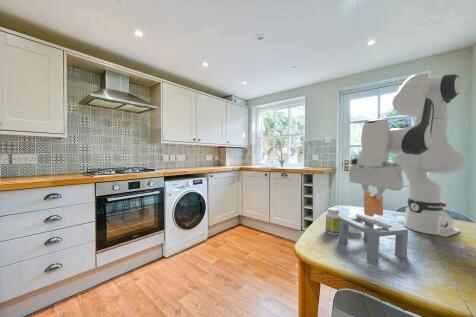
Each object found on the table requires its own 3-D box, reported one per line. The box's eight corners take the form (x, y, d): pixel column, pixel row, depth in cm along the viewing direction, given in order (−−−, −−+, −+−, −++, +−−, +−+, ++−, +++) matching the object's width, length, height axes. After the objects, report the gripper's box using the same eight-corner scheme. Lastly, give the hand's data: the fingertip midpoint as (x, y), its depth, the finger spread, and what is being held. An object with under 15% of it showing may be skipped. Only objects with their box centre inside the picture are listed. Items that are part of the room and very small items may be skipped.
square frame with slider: (368, 237, 87) (369, 211, 87) (406, 257, 72) (408, 225, 71) (338, 240, 84) (339, 213, 83) (372, 261, 68) (373, 228, 68)
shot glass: (365, 235, 90) (366, 219, 89) (348, 233, 91) (349, 218, 91) (359, 229, 96) (360, 215, 96) (344, 228, 98) (344, 213, 98)
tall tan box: (375, 213, 79) (375, 194, 79) (383, 215, 76) (382, 195, 76) (364, 214, 77) (363, 194, 78) (371, 216, 74) (370, 195, 75)
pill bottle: (340, 231, 93) (341, 208, 93) (339, 236, 88) (340, 211, 88) (326, 228, 96) (327, 206, 96) (324, 233, 91) (325, 209, 91)
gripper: (409, 163, 67) (407, 204, 67) (359, 160, 87) (357, 191, 87) (394, 163, 65) (392, 205, 66) (346, 160, 85) (345, 192, 86)
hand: (372, 197), depth 77 cm, fingers closed on tall tan box, 3 cm apart
